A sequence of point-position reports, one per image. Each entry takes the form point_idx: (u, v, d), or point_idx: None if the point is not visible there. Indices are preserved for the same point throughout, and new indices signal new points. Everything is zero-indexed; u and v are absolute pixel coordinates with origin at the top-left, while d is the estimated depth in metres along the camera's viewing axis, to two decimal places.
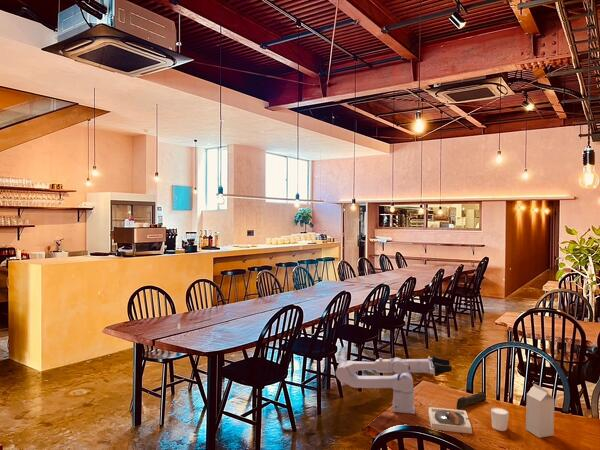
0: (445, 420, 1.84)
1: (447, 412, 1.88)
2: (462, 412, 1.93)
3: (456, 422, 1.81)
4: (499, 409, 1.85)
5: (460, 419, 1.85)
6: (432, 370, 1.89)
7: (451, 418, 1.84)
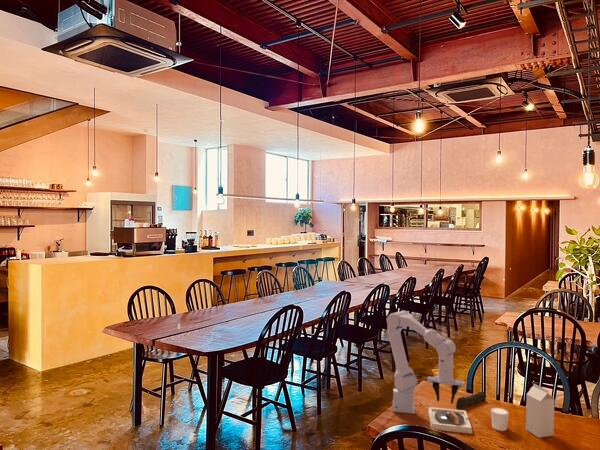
0: (445, 420, 1.84)
1: (447, 412, 1.88)
2: (462, 412, 1.93)
3: (456, 422, 1.81)
4: (499, 409, 1.85)
5: (460, 419, 1.85)
6: None
7: (451, 418, 1.84)
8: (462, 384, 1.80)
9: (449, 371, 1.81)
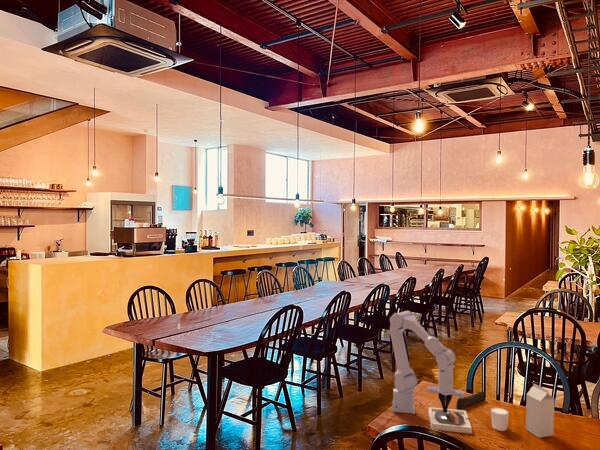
0: (445, 420, 1.84)
1: (447, 412, 1.88)
2: (462, 412, 1.93)
3: (456, 422, 1.81)
4: (499, 409, 1.85)
5: (460, 419, 1.85)
6: None
7: (451, 418, 1.84)
8: (462, 394, 1.80)
9: (449, 381, 1.81)
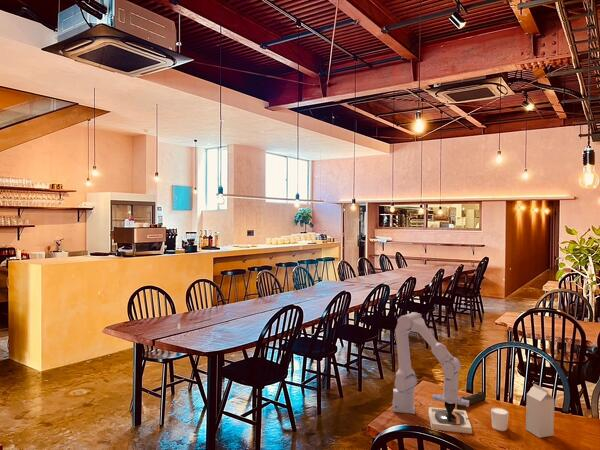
0: (445, 420, 1.84)
1: None
2: (462, 412, 1.93)
3: (457, 422, 1.81)
4: (499, 409, 1.85)
5: (460, 419, 1.85)
6: (432, 397, 1.85)
7: (452, 418, 1.84)
8: (467, 403, 1.80)
9: (454, 390, 1.80)
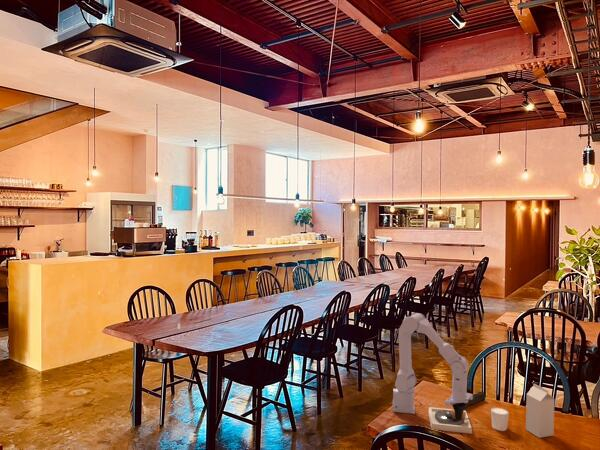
0: (455, 421, 1.84)
1: (448, 413, 1.87)
2: None
3: (465, 418, 1.85)
4: (499, 409, 1.85)
5: None
6: (447, 404, 1.80)
7: None
8: (471, 396, 1.86)
9: (466, 388, 1.82)
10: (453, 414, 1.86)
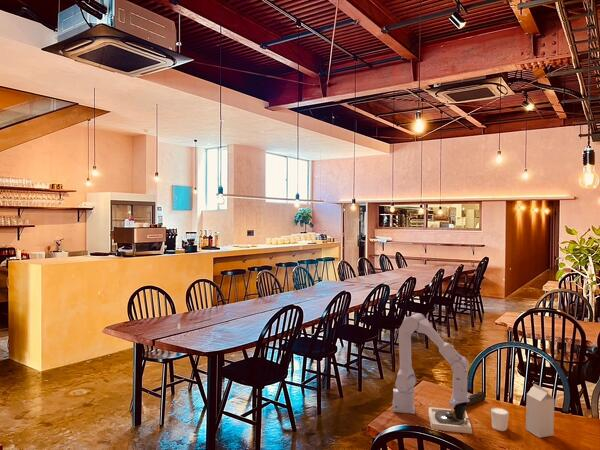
0: (457, 420, 1.84)
1: (449, 413, 1.87)
2: None
3: None
4: (499, 409, 1.85)
5: None
6: (452, 405, 1.79)
7: None
8: (469, 394, 1.88)
9: None
10: (454, 413, 1.86)
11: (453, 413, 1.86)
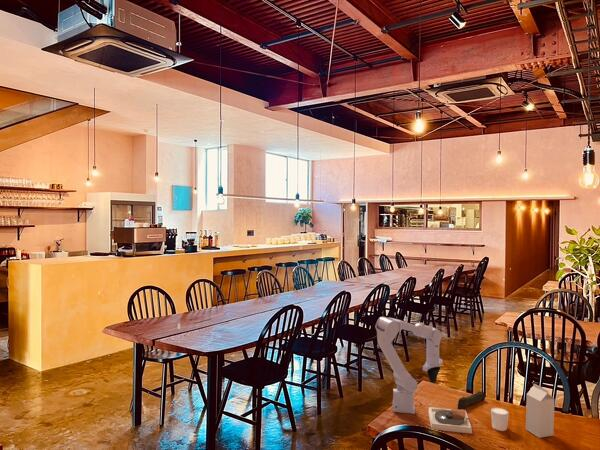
0: (457, 420, 1.84)
1: (449, 413, 1.87)
2: None
3: None
4: (499, 409, 1.85)
5: None
6: (425, 369, 1.99)
7: (458, 415, 1.86)
8: (442, 360, 2.08)
9: None
10: (454, 413, 1.87)
11: (453, 413, 1.86)
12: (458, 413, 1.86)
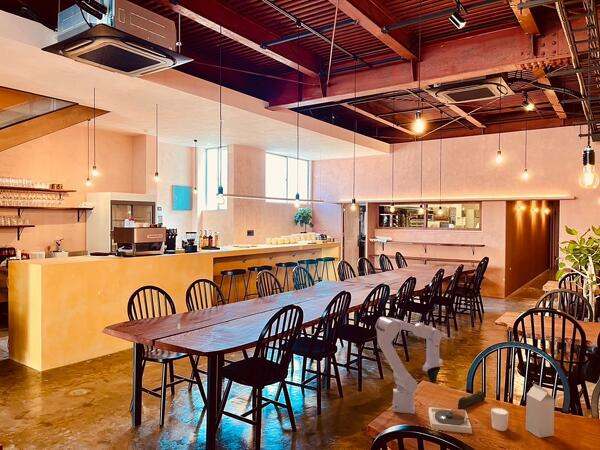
0: (457, 420, 1.84)
1: (449, 413, 1.87)
2: None
3: None
4: (499, 409, 1.85)
5: None
6: (425, 369, 1.99)
7: (458, 415, 1.86)
8: (442, 360, 2.08)
9: None
10: (454, 413, 1.87)
11: (453, 413, 1.86)
12: (458, 413, 1.86)
